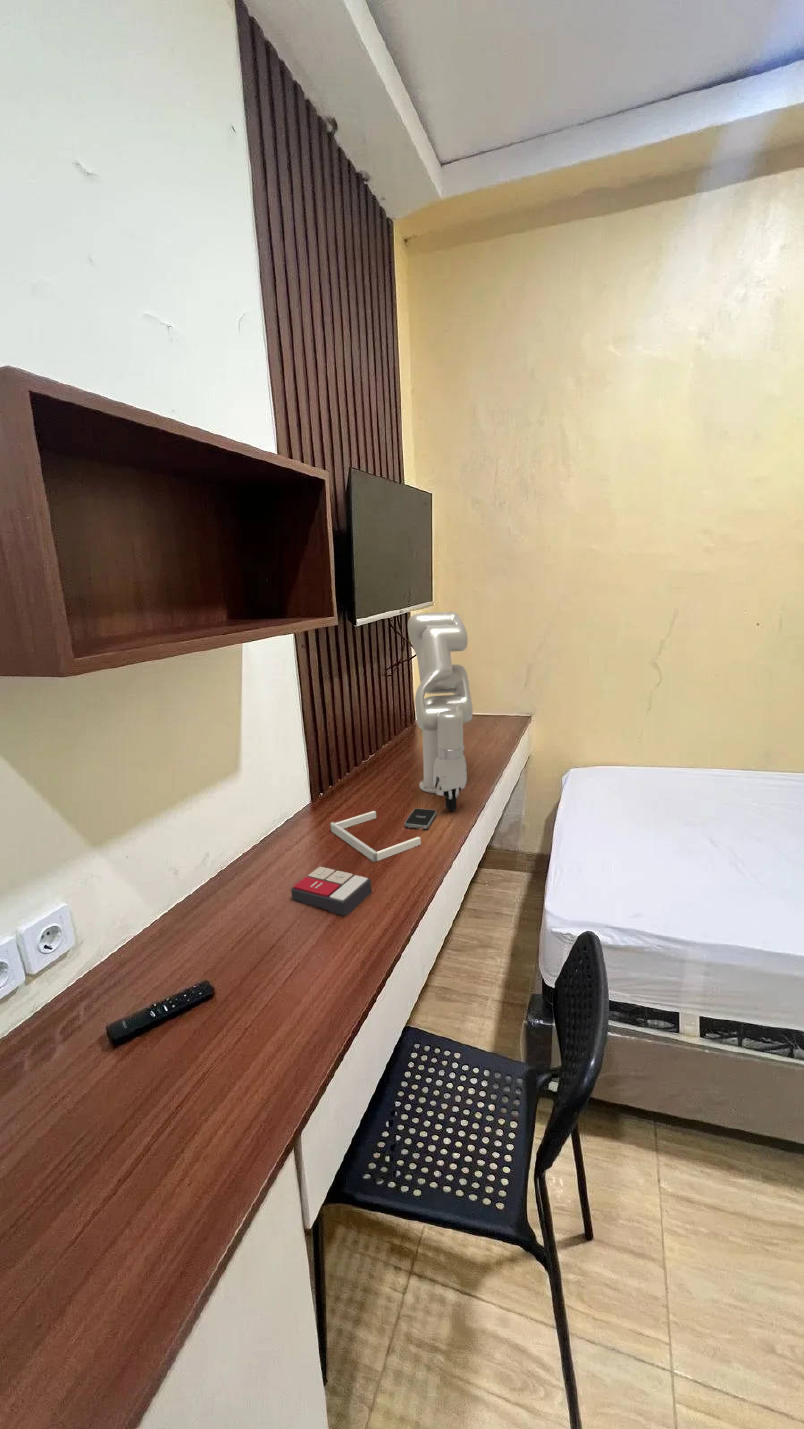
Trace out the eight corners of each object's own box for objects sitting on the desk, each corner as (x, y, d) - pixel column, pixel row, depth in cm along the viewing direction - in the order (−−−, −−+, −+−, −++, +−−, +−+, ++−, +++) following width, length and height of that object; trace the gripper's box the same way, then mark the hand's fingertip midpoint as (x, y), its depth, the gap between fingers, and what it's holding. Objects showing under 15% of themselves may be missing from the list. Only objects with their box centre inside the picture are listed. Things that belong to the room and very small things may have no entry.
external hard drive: (404, 829, 163) (404, 823, 162) (415, 814, 173) (415, 807, 172) (427, 832, 161) (427, 825, 160) (437, 816, 171) (437, 810, 170)
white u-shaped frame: (374, 816, 171) (374, 809, 170) (420, 844, 152) (420, 836, 152) (330, 830, 162) (330, 822, 162) (374, 862, 144) (373, 853, 143)
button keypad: (319, 864, 137) (370, 875, 130) (321, 880, 138) (372, 892, 131) (289, 886, 128) (343, 899, 121) (291, 903, 129) (345, 917, 122)
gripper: (460, 744, 175) (461, 799, 180) (422, 754, 167) (424, 811, 172) (477, 750, 169) (477, 806, 174) (439, 760, 161) (440, 820, 166)
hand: (451, 809), depth 173 cm, fingers closed
